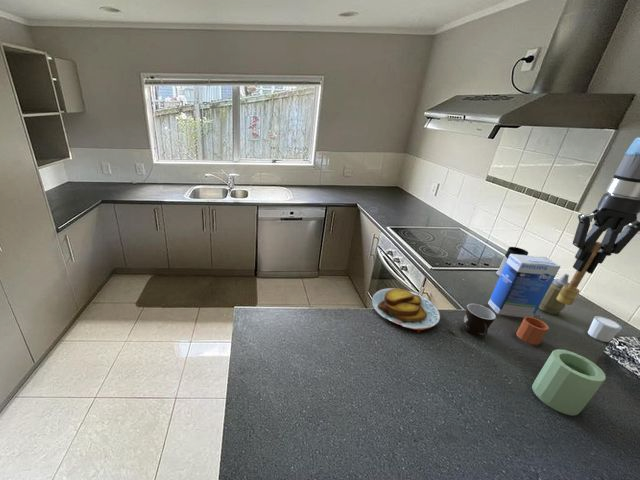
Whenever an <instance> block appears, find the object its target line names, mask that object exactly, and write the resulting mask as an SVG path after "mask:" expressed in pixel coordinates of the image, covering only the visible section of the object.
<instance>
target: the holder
mask: <svg viewBox="0 0 640 480" xmlns="http://www.w3.org/2000/svg"><path fill="white" fill-rule="evenodd" d="M510 254H518V255H528V256H529V252H528V251H527V250H526V249H525V248H524V249H523V248H520V247H516V246H509V247H508V248H507V251H506V253H505V254H504V256H503V258H502V261H501V262H500V265H499V268H498V270H497V271H495V274H496V275H497V276H499V277H500V276H501V273H502V271H503V269H504V267H505V264H506V262H507V260H508V258H509V255H510Z"/></svg>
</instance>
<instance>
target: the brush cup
mask: <svg viewBox="0 0 640 480" xmlns="http://www.w3.org/2000/svg"><path fill="white" fill-rule="evenodd" d="M549 329H550V327H549V326H548V324H547V323H546V322H545V321H543V320H541V319H539V318H537V317H528V316H527V317H524V318H523V319H522V321H521V323H520V325H519V327H518V329H517V331H516V333H515V334H516V336H517V337H518V339H520V340H521V341H523V342H525V343H527V344H529V345H532V346H533V345H534V346H539V345H540V344H541V343H542V341H543V339H544V337H545V335H546V334H547V332H548V331H549Z"/></svg>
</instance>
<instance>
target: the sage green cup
mask: <svg viewBox="0 0 640 480" xmlns="http://www.w3.org/2000/svg"><path fill="white" fill-rule="evenodd" d="M606 377H607V375H606V374H605V372H604V371H603V369H601V367H599V366H598V365H597V364H596V363H595V362H593V361H592V360H590V359H588V358H586V357H584V356H583V355H580V354H578V353H575V352H574V351H571V350H570V351H569V350H567V349H559V348H558V349H554V350H552V351H551V353H550V355H549V357H548V358H547V360H546V361H545V362H544V365H543V366H542V368H541V369H540V371H539V373H538V374H537V376H536V378H535V379H534V381H533V383H532V385H531V389H532V391H533V393H534V394H535V396H536V397H537V398H538V399H539V400H540V401H541V402H542V403H543V404H545V405H547V406H548V407H549V408H551V409H552V410H555V411H556V412H558V413H561V414H564V415H567V416H578V415H579V414H580V413H581V412H582V411H583V410H584V409H585V407H586V406H587V405H588V403H589V402H590V401H591V399H592V398H593V397H594V396H595V394H596V393H597V392H598V390H599V389H600V387H601V386H602V385H603V384H604V382H605V381H606Z"/></svg>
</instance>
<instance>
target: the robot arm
mask: <svg viewBox="0 0 640 480" xmlns="http://www.w3.org/2000/svg"><path fill="white" fill-rule="evenodd" d="M638 214H640V136H638V137H636V138H634V140H633V141H632V142H631V144H630V145H629V147H628V148H627V150H626V152H624V156H623V158H622V160H621V161H620V164H619V166H618V168H617V169H616V172H615V173H614V175H613V176H612V178H611V180H610V182H609V184H608V186H607V188H606V189H605V193H603V194H602V196H601V198H600V200H599V201H598V204H597V208H596V209H594V210H593V211H592V212H591V213H586V214H583V213H580V214H578V215H577V218H578V224H577V227H576V230H575V234H574V236H573V239H572V245H573V246H574V247H576V248H577V249H578V250H577V251H576V253H575V255H574V258H575V259H576V260H575V261H574V263H573V265H572V268H573V269H574V270H576V271H579V272H581V271H582V270H583V268H584V266H585V264H586V263H587V261H588V259H589V258H590V256H591V254H592V252H590V249H591V248H592V247H593V245H594V244H595V242H598V240H599V238H600V237H601V236H602V234H603V233H604V232H605V234H603V235H604V236H603V238H602V239H601V241H600V243H602V246H601V248H600V249H599V251H598V253H597V254H596V256H595V258H594V260H593V261H592V263H591V265H590V266H589V268H588V270H587V271H586V273H588V274H590V275H592V274H593V273H594V272H595V270H596V268H597V266H598V265H601V264H603V262H604V261H605V259H606V258H607V257H610V256H612V255H613V254H614V255H619V254H620V253H621V252H622V251H623V250H624V248H625V247H626V246H627V245H628V244H629V243H630V242H631V241H632V240H633V238H634V237H635V236H636V235H637V234H638V233H639V232H640V221H639V220H638ZM593 221H594V222H593ZM592 222H593V223H592ZM591 223H592V225H591ZM590 227H591V228H590ZM589 229H590V230H589Z"/></svg>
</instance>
